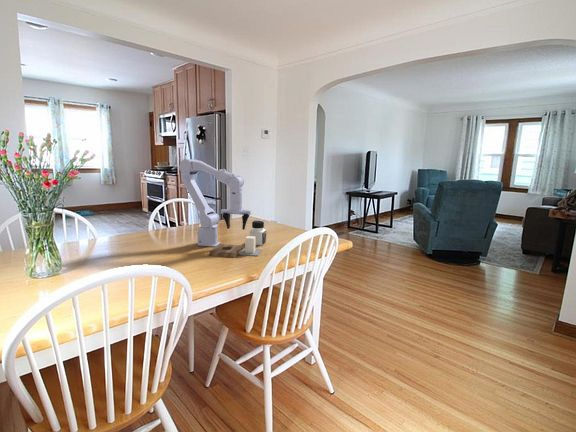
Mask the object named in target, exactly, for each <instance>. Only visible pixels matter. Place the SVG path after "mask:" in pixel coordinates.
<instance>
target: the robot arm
mask: <svg viewBox="0 0 576 432" xmlns="http://www.w3.org/2000/svg"><path fill="white" fill-rule="evenodd" d="M178 169H179V171H180V175H181V181H182V183H183V185H184V188H186V190H187V192H188V194H189V196H190V198H191V199H192V201H193V203H194V205H195V207H196V209H197V210H198V216H197V217H198V219H199V224H200V226H199V227H198V229H197V244H196V245H197V246H200V247H212V248H214V247H215V246H217V245H218V244H221V241H218V240H219V239H218V235H219V234H218V233H219V232H218V226H219V225H218V224H219V223H220V221H221V218H220V215H219V214H218V213H216V211H215V209H213V208H211V207H210V206H209V204H208V202H207V200H206V198H205V197H204V195H203V193H202V191H201V189H200V188H199V186H198V183H197V182H196V180H195V179H196V176H197V175H198V173H199V172H200V171H202V172H204V173H207V174H209V175H211V176H214V177H215V179H216V181H218V182H220V183H223V184H225V185H226V186H228V188H229V209H226V208H225V209H221V210H220V214H222V218H223V221H224V222H225V226H226V229H227V230H228V229H230V227H231V222H230V221H231V215H239V216H240V215H242V216H241V220H242V226H241V227H242V230H243V231H244V230H245V229H246V224H247V222H248V219H249V217H250V216H251V215H252V210H247V209H243V186H244V185H245V184H244V183H245V182H244V181H245V180H244V179H243V177H242V176H240V175H235V173H231V172H229V171H227V169H225V168H221V169H217V168H214V167H213V166H212V165H209V164H207V163H205V162H204V161H202V160H200V159H199V160H198V159H196V158H191V159H187V158H185V159H182V160H181V161H180V163H179V166H178Z"/></svg>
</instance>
